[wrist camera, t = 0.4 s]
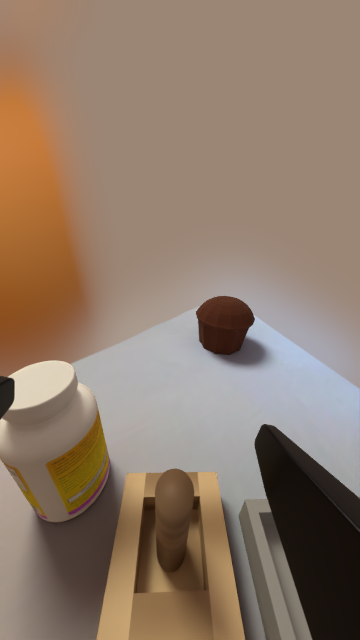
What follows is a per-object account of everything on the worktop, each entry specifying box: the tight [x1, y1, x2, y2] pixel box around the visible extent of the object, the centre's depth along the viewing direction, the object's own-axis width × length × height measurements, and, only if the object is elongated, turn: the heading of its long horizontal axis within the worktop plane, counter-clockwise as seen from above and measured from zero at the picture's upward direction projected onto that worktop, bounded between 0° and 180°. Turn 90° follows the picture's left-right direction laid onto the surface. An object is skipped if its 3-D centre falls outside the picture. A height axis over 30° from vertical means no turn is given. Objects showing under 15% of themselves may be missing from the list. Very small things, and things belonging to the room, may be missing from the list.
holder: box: [96, 472, 245, 640], centre depth 15 cm, size 8×8×3 cm
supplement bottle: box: [0, 361, 110, 522], centre depth 16 cm, size 7×7×13 cm
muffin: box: [196, 296, 255, 355], centre depth 40 cm, size 12×11×10 cm
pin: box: [155, 469, 194, 572], centre depth 13 cm, size 2×2×9 cm
